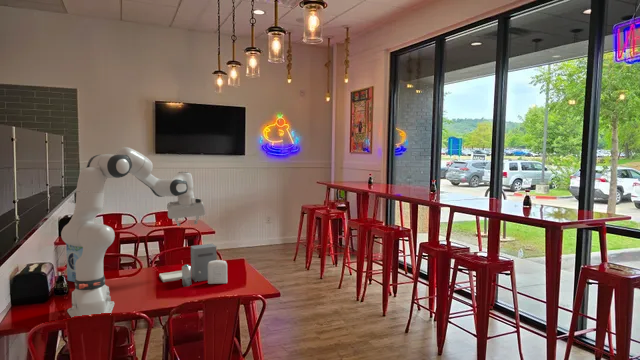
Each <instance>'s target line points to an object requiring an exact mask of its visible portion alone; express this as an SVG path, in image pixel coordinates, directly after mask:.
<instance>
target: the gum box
mask: <svg viewBox="0 0 640 360" xmlns="http://www.w3.org/2000/svg"><path fill="white" fill-rule="evenodd" d="M65 248H66V274H67V276H66V277H67V281H69V282H73V283H75V279H76V269H75V263H76V261H77V260H78V259H79V258H80V257H81V256H82V253H83V247H77V246H72V245H69V244H67V243H65Z"/></svg>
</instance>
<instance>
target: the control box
mask: <svg viewBox="0 0 640 360" xmlns="http://www.w3.org/2000/svg"><path fill="white" fill-rule="evenodd" d="M214 260H218V259H217V245H215V244H213V243H205V244H204V243H203V244H196V245H191V246H190V266H191V280H193V281H194V283H198V282H202V281H208V263H209V262H210V261H214ZM197 281H198V282H197Z"/></svg>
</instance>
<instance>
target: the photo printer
mask: <svg viewBox="0 0 640 360" xmlns="http://www.w3.org/2000/svg"><path fill="white" fill-rule="evenodd" d="M207 284H208V285H214V284H217V285H218V284H228V263H227V260H222V259H217V260H214V261H210V262H209V263H208V280H207Z"/></svg>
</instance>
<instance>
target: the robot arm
mask: <svg viewBox="0 0 640 360" xmlns="http://www.w3.org/2000/svg"><path fill="white" fill-rule="evenodd" d="M153 164H154V163H153V162H152V161H151V159H150V158H148V157H147V156H146V155H144V154H143V153H141V152H139V151H138V150H135V149H133V148H132V147H128V146H123V147H120V148H119V149H118V150H116V152H115V154H113V153H112V154H111V153H106V154H103V153H102V154H96V155H94V156H92V157H91V158H90V159H89V160H88V162H87V165H86V166H85V168H84V167H83V169H81V170H80V172H79V176H78V179H77V184H76V194H75V196H76V197H75V206H74V211H73V212H72V213H73V214H72V215H71V219H69V222H68V223H67V224H65V225H64V226H63V228H62V230H61V232H60V235H61V236H60V237H61V240H62V242H64V243H65V244H66V243H67V244H69V245H72V246H77V247H83V253H82V256H81V257H80V258H79V259H78V260H77V261H76V263H75V269H76V279H75V282H74V288H75V289H74V290H73V291H71V307H69V308H68V309H67V310H66V311H67V313H68V315H69V316H70V317H71V318H72V317H74V316H82V315H91V314H101V313H111V314H112V312H113V309H114V306H115V301H112V296H111V295H110V294H111V292H110V291H111V290H110V287H109V286H108V285H106V277H105V274H104V257H105V254H106V252H107V249H108V248H109V247H110V246H111V245H112V244H113V243H114V241H115V237H116V235H115V230H114V229H113V228H112V227H111V226H109V225H107V224H103V223H96V222H95V220H96V217H97V216H98V214H99V213H101V212H102V211H103V209H104V200H105V184H106V181H107V179H115V178H116V179H119V178H124V177H125V176H127V175H128V174H129V175H130V174H131V175H132V176H134V177H135V178H136V179H137V180H138V181H140V182H141V183H143V184H144V185H145V186H147V187H148V188H149V189H150V191H151V192H152V193H153V194H154V195H155V196H156V197H158V198H162V197H177V201H170V202H168V203H167V204H166V208H167V217H168V219H170V220H172V219H174V221H175V222H176V225H177V227H180V226H182V225H181V222H179V221H178V220H179V219H181V218H182V219H183V218H190V217H195V220H194V221H193V224H194V225H198V221H199V219H200V216H206V208H205V205H204V203H203V198H201V197H200V198H199V197H196V196H195V193H194V180H193V176H192V173H191V172H188V171H178V172H177V174H176V175H175V176H173V177H171V178H158V177H156V176H155V175H153V174H152V172H153V170H154V169H153V168H154V166H153Z"/></svg>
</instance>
